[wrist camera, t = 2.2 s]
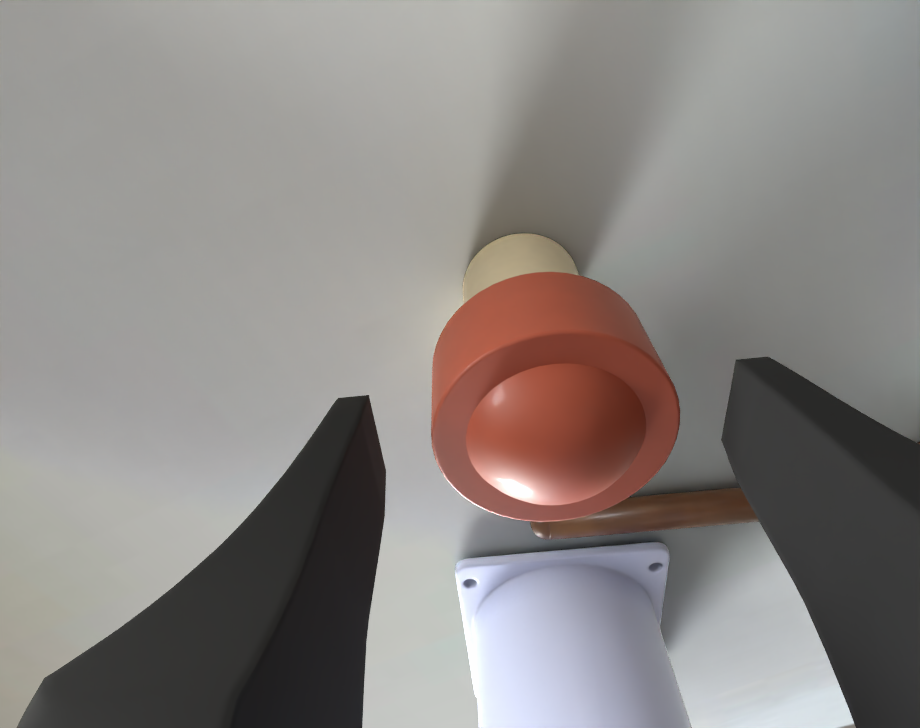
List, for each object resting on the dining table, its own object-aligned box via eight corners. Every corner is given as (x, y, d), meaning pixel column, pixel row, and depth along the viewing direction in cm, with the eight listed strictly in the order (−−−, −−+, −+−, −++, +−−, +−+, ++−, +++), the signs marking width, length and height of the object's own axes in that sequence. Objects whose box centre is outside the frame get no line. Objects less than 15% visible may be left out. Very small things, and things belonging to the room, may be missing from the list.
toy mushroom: (604, 350, 19) (684, 550, 12) (444, 365, 19) (446, 571, 13) (609, 193, 16) (716, 349, 10) (423, 212, 16) (412, 379, 10)
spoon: (1062, 410, 20) (1094, 434, 19) (1003, 515, 23) (1028, 540, 22) (525, 459, 21) (529, 485, 20) (530, 556, 24) (535, 582, 23)
